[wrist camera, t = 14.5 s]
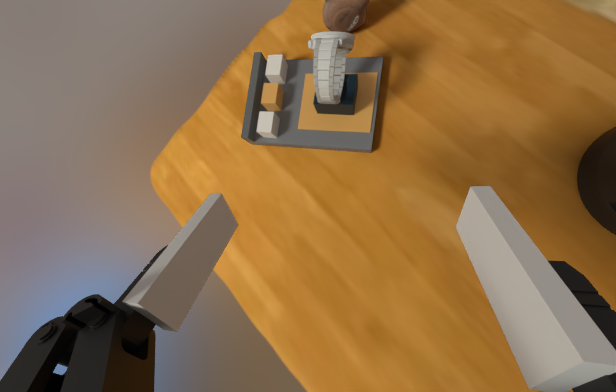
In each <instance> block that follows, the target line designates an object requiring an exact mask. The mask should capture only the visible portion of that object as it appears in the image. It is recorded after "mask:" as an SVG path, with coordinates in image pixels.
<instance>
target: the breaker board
mask: <svg viewBox="0 0 616 392" xmlns="http://www.w3.org/2000/svg"><path fill="white" fill-rule="evenodd" d="M313 63H314V59H305V60H285V58H284V56H283V54H282V55H268V60H267V61H266V59H265V58H264V56H263V54H262V53H261V52H256V53H254V58H253V65H252V71H251V77H250V84H249V90H248V97H247V103H246V110H245V116H244V122H243V129H242V135H241V138H243V139H244V140H246V141H247V142H249V143H251V144H253V145H268V146H282V147H296V148H310V149H324V150H338V151H352V152H366V153H371V149H372V141H373V133H374V126H375V118H376V110H377V102H378V94H379V86H380V78H381V71H382V63H383V57H362V58H346V64H342V65H346V66H345V72H342V73H345V74H358V90H357V97H356V104H355V110H354V115H336V114H317V111H316V109H315V107H314V104H313V102H314V95H315V85H314V74H313V67H314V66H313Z"/></svg>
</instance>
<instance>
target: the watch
mask: <svg viewBox="0 0 616 392" xmlns="http://www.w3.org/2000/svg"><path fill="white" fill-rule="evenodd" d="M311 39H312V40H309V41H308V47H309V48H312V49H313V50H314V63H313V66H314V67H313V74H314V85H315V95H314V102H313V104H314V107H315V109H316V111H317V114H336V115H354V110H355V104H356V97H357V90H358V74H345V73H342V72H345V66H346V65H342V64H346V53H349V51H351V50H352V49H353V45H354V39H355V35H353V34H351V33H348V32H339V31H328V32H319V33H315V34H313V35H312V36H311Z"/></svg>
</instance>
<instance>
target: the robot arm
mask: <svg viewBox="0 0 616 392" xmlns="http://www.w3.org/2000/svg"><path fill="white" fill-rule="evenodd" d="M577 180H578V189H579V193H580V196H581V199H582V201H583V203H584V205H585V207H586V208H587V210H588V211H589V212H590V214H591V215H592V216H593V217H594V218H595V219H596V220H597V221H598V222H599V223H600V224H601V225H602V226H603V227H605V228H606V229H608V230H609V231H611V232H612V233H614V234H615V235H616V127H615V128H613V129H611V130H609V131H607V132H606V133H604V134H603V135H602V136H600V137H599V138H598V139H597V140H596V141H594V142H593V144H592V145H591V146H590V147H589V148H588V149H587V151H586V152H585V154H584V156H583V158H582V160H581V162H580V165H579V169H578V179H577ZM237 226H238V223H237V221H236V220H235V218H234V216H233V214H232V212H231V210H230V208H229V206H228V205H227V203H226V201H225V199H224V197H223V195H222V193H221V194H210V195H209V197H208V198H207V199H206V200H205V201H204V203H203V204H202V205H201V206H200V208H199V209H198V210H197V211H196V212H195V214H194V215H193V216H192V217H191V218H190V220H189V221H188V222H187V223H186V225H185V226H184V227H183V228H182V229H181V231H180V232H179V233H178V234H177V235H176V237H175V238H174V239H173V240H172V242H171V243H170V244H169V245H167V246H166V247H164V248H163V249H162V250H161V251H159V252H158V253H157V254H156V255H155V256H154V257H153V259H152V260H151V261H150V263H149V264H148V265H147V266H146V267H145V268H144V269H143V272H141V273H140V274H139V275H138V277H137V278H136V279H135V280H134V281H133V282H132V284H131V285H130V286H129V287H128V288H127V290H126V291H125V292H124V293H123V294H122V295H121V297H120V298H119V299H118V300H117V301H116V302H115V303H114V304H112V303H111V302H109V301H108V300H106V299H105V298H103V297H102V296H100V295H99V294H98V295H91V296H88V297H86V298H84V299H82V300H81V301H79V302H78V303H77V304H75V305H74V306H73V307H72V308H71V309H70V310H69V311H68V312H67V313H66V314H65V315H64V317H63V316H62V317H57V318H55V319H53V320H51V321H49V322H47V323H46V324H44V325H43V326H41V327H40V328H39V329H38V330H37V331H36V332H35V333H34V334H33V335H32V336H31V338H30V339H29V340H28V342H27V343H26V344H25V346H24V348H23V349H22V351H21V352H20V353H19V355H18V356H17V358H16V359H15V360H14V362H13V363H12V365H11V366H10V368H9V369H8V371H7V372H6V374H5V375H4V376H3V378H2V379H1V381H0V392H154V370H155V331H154V330H153V328H154V326H155V325H157V326H159V327H160V328H162V329H163V330H169V331H175V332H177V331H178V330H179V328H180V326H181V324H182V322H183V321H184V319H185V317H186V315H187V314H188V312H189V310H190V309H191V307H192V305H193V303H194V302H195V300H196V298H197V296H198V294H199V293H200V291H201V289H202V287H203V286H204V284H205V282H206V281H207V279H208V277H209V275H210V273H211V272H212V270H213V268H214V267H215V265H216V263H217V261H218V260H219V258H220V256H221V254H222V253H223V251H224V249H225V247H226V246H227V244H228V242H229V240H230V239H231V237H232V235H233V233H234V232H235V230H236V228H237ZM456 229H457V231H458V234H459V236H460V238H461V240H462V242H463V245H464V247H465V249H466V251H467V253H468V256H469V258H470V260H471V262H472V264H473V267H474V269H475V271H476V273H477V275H478V278H479V280H480V282H481V284H482V286H483V289H484V291H485V293H486V295H487V297H488V300H489V302H490V304H491V306H492V308H493V311H494V313H495V315H496V317H497V319H498V322H499V324H500V326H501V328H502V330H503V333H504V335H505V337H506V339H507V341H508V344H509V346H510V348H511V350H512V352H513V355H514V357H515V359H516V361H517V363H518V366H519V368H520V370H521V372H522V374H523V377H524V379H525V381H526V383H527V385H528V388H529V389H532V390H538V391H544V392H567V391H570V390H573V391H574V392H616V312H615V311H614V310H611V308H610V305H609V304H608V303H607V302H606V301H605V299H604V298H603V297H602V296H600V295H599V294H598V291H597V290H596V289H595V288H594V287H593V285H592V284H591V283H590V282H589V281H588V280H587V278H586V277H585V276H584V275H583V274H581V273H580V272H578V271H577V270H576V269H574V268H573V267H571V266H570V265H569V264H567V263H566V262H565V261H547V260H546V258H545V257H544V256H543V254H542V253H541V252H540V251H539V249H538V248H537V247H536V245H535V244H534V243H533V241H532V240H531V239H530V237H529V236H528V235H527V234H526V232H525V231H524V230H523V228H522V227H521V226H520V224H519V223H518V222H517V220H516V219H515V218H514V216H513V215H512V214H511V213H510V211H509V210H508V209H507V207H506V206H505V205H504V203H503V202H502V201H501V199H500V198H499V197H498V196H497V194H496V193H495V192H494V190H493V189H492V188H491V186H470V189H469V192H468V195H467V198H466V200H465V203H464V206H463V209H462V212H461V214H460V217H459V220H458V223H457V226H456ZM57 364H60V365H63V366H66V367H68V368H67V371H66V372H65V373H64V374H63V375H59V374H55V373H53V371H54V369H55V367H56V365H57Z"/></svg>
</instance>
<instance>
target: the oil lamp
mask: <svg viewBox="0 0 616 392" xmlns="http://www.w3.org/2000/svg"><path fill="white" fill-rule="evenodd" d="M369 1H370V0H325V4H324V7H323V20H324V23H325V25H326V27H327V28H328V29H329V30H330V31H339V32H350V31H352V30H354V29H356V28H358V27H360V26H361V25H363V24H364V23H365V21H366V10H367V5H368V3H369Z"/></svg>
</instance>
